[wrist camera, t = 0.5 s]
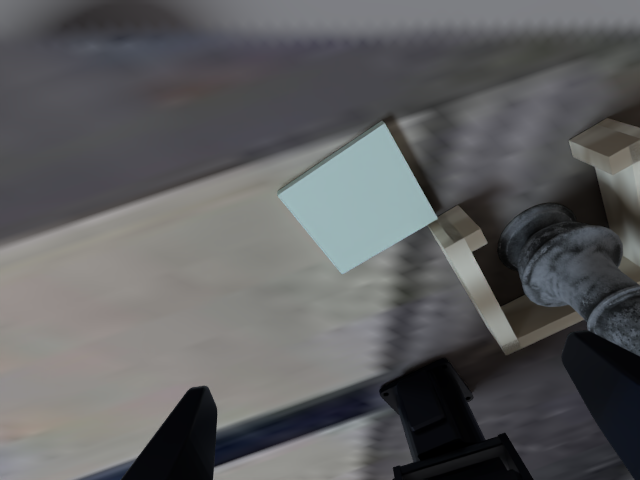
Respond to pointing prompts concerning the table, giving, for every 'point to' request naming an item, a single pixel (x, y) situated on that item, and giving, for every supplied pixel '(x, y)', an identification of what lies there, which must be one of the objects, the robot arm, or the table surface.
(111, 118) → the table surface
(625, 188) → the beige bracket
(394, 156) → the pad
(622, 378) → the robot arm
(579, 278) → the dark grey chess piece
